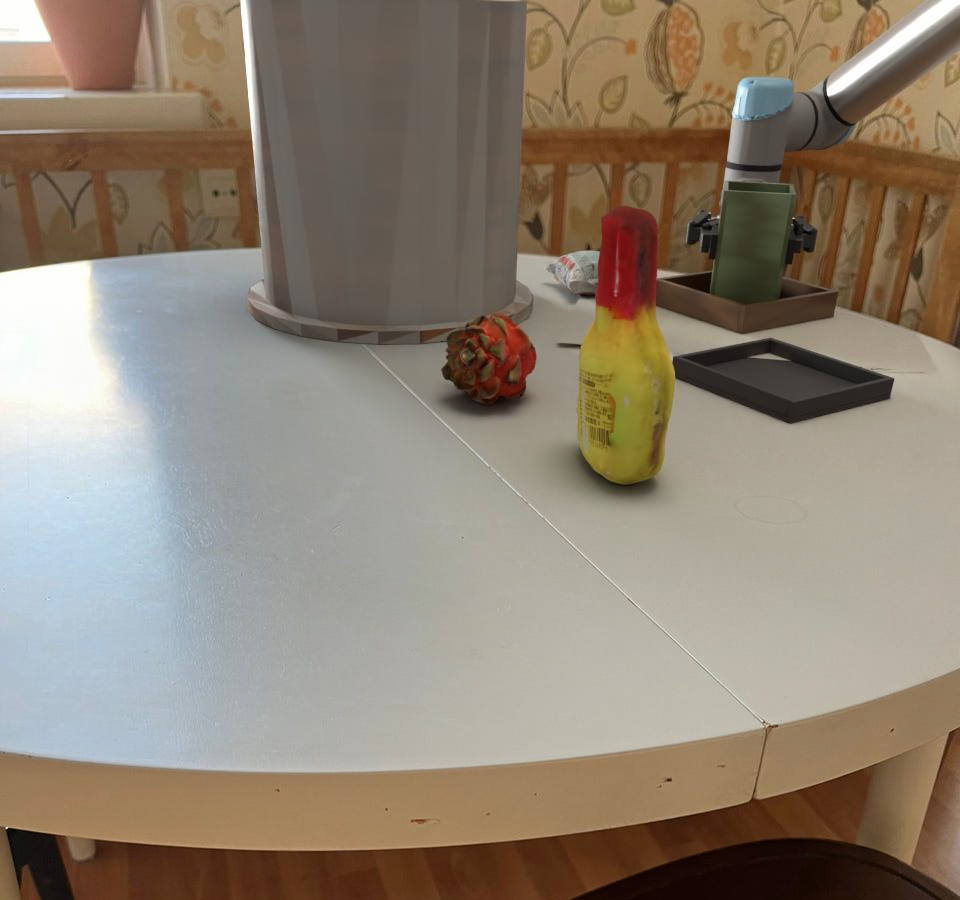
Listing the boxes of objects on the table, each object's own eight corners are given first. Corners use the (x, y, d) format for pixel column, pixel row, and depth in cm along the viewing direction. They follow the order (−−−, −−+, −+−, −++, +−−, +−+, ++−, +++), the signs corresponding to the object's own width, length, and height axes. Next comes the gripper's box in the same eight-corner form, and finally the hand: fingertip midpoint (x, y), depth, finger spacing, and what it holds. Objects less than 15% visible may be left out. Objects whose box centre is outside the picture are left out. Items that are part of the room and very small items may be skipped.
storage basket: (311, 360, 109) (287, -4, 92) (210, 286, 135) (178, -9, 118) (588, 322, 124) (612, 3, 107) (450, 262, 150) (452, -2, 133)
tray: (890, 398, 103) (895, 378, 102) (790, 423, 96) (794, 402, 95) (767, 355, 114) (770, 337, 113) (670, 375, 107) (672, 356, 106)
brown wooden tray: (832, 321, 127) (838, 291, 125) (740, 339, 119) (745, 307, 117) (739, 293, 138) (743, 265, 136) (650, 308, 130) (653, 278, 128)
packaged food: (567, 304, 131) (570, 263, 128) (543, 282, 141) (545, 244, 138) (633, 303, 133) (638, 263, 130) (604, 281, 142) (608, 243, 140)
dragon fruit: (469, 436, 96) (488, 411, 107) (547, 385, 93) (559, 366, 104) (417, 355, 94) (441, 339, 104) (495, 301, 91) (512, 290, 102)
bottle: (555, 443, 90) (570, 195, 80) (625, 439, 92) (649, 193, 81) (599, 499, 80) (623, 224, 70) (677, 493, 82) (712, 222, 71)
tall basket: (773, 304, 131) (793, 183, 124) (775, 320, 124) (796, 194, 117) (708, 299, 132) (724, 180, 125) (707, 315, 126) (724, 190, 118)
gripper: (824, 250, 139) (838, 289, 120) (666, 240, 143) (656, 277, 124) (835, 189, 135) (852, 220, 116) (673, 180, 139) (664, 209, 120)
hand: (751, 249), depth 120 cm, fingers closed on tall basket, 8 cm apart
